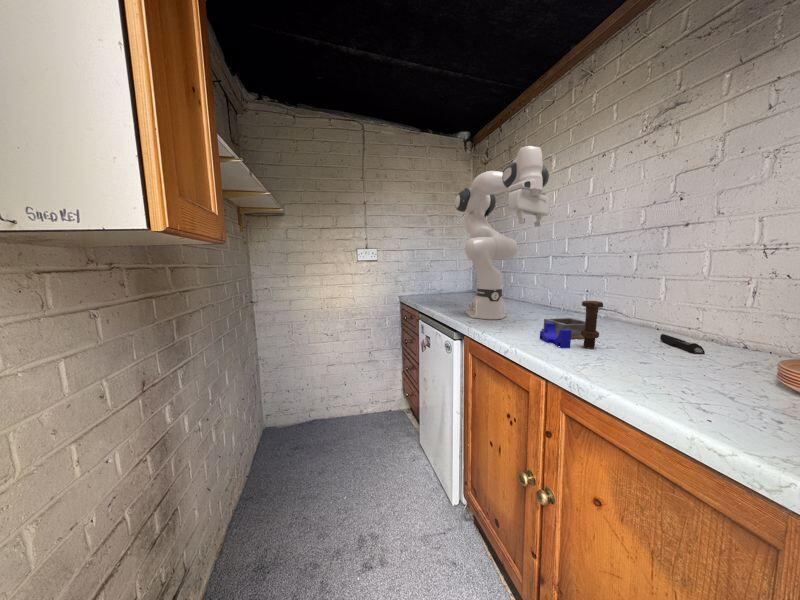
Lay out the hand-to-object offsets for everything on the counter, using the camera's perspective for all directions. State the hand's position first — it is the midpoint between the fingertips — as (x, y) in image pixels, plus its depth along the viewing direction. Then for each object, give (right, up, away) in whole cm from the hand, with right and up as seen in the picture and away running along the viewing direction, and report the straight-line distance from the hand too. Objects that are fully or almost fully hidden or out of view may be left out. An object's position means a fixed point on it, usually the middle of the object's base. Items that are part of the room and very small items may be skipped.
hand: (529, 225), depth 117 cm
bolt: (+11, -44, -18) cm, 49 cm away
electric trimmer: (+41, -45, -18) cm, 63 cm away
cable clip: (+3, -44, -13) cm, 46 cm away
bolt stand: (+14, -42, -2) cm, 44 cm away
